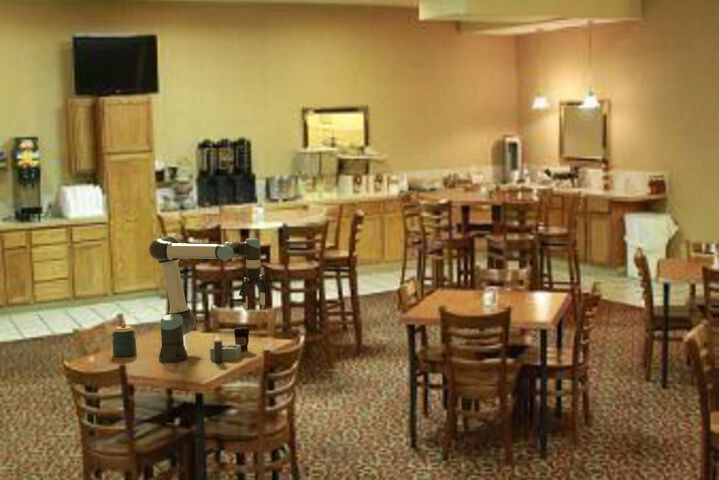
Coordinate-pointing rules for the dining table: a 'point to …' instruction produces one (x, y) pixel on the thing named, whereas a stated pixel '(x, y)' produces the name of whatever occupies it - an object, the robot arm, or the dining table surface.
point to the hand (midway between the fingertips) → (254, 306)
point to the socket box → (227, 352)
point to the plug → (218, 351)
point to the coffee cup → (242, 337)
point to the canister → (124, 341)
